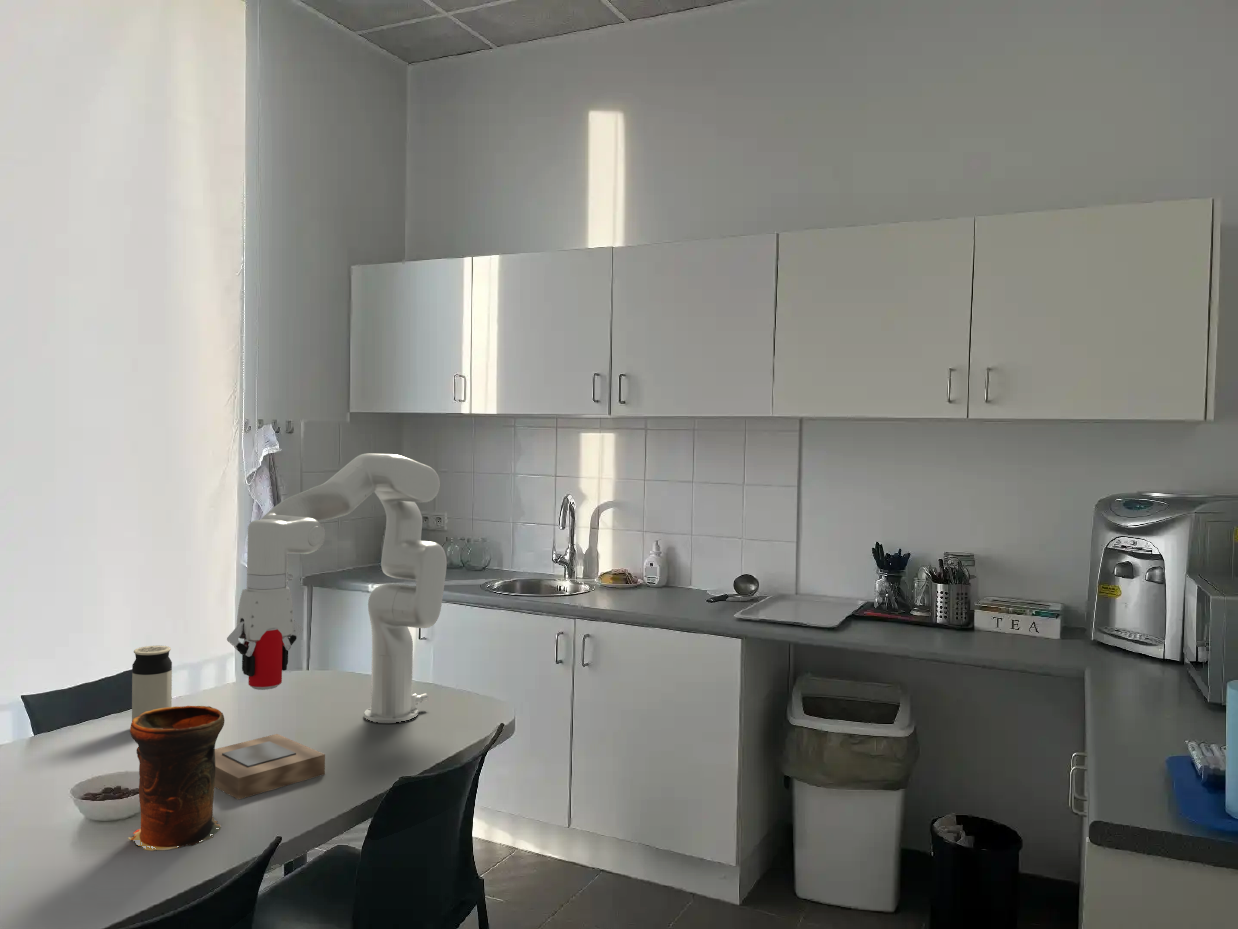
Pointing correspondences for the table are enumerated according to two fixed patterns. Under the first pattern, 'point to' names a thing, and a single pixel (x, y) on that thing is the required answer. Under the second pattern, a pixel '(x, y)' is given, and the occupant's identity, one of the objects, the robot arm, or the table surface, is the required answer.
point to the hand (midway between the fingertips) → (265, 671)
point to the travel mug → (151, 679)
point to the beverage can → (267, 661)
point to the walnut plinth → (265, 765)
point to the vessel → (176, 775)
